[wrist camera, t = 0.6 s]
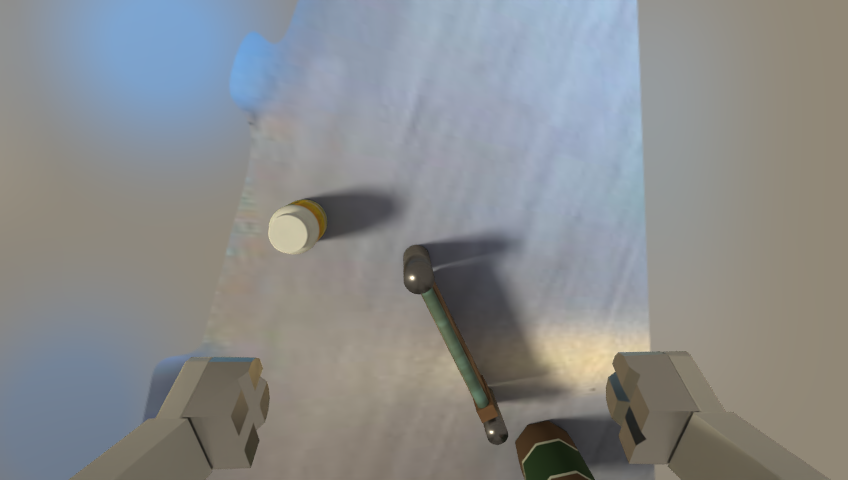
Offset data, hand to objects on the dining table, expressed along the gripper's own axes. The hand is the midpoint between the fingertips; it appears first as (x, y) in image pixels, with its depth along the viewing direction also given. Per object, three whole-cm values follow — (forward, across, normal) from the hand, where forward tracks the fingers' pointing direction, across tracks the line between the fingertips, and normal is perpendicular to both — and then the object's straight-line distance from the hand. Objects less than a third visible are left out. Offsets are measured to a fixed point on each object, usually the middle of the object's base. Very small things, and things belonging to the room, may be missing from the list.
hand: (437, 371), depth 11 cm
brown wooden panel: (+36, +3, -35) cm, 50 cm away
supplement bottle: (+42, -15, -22) cm, 50 cm away
